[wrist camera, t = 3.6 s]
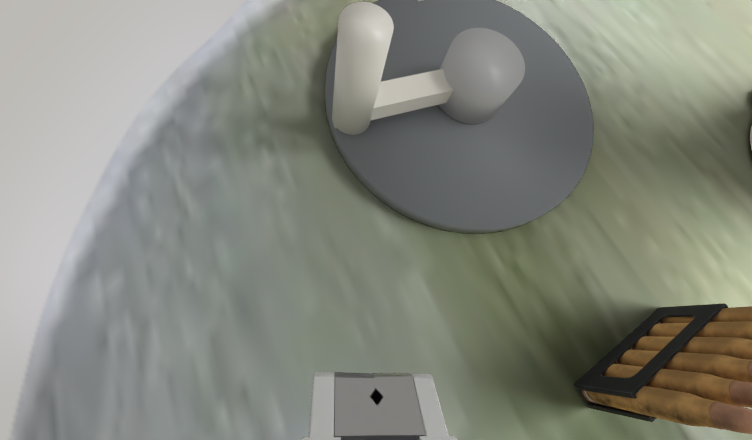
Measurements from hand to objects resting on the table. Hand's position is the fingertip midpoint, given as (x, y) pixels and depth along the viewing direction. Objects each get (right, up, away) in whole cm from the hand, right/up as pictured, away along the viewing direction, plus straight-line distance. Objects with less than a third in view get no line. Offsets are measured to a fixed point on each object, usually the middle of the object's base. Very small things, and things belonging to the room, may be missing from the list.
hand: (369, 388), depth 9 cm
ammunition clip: (+20, -6, +19) cm, 28 cm away
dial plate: (+8, +15, +23) cm, 28 cm away
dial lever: (+4, +14, +20) cm, 25 cm away
